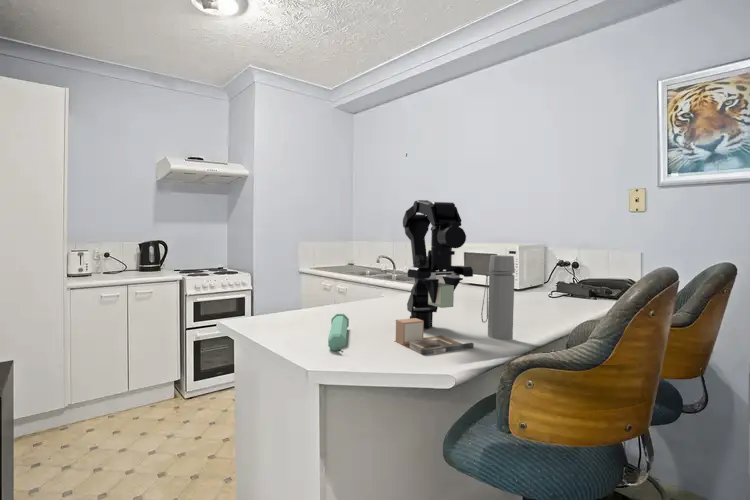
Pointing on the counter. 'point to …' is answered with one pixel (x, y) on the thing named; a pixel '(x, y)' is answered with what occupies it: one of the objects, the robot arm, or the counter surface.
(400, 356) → the counter surface
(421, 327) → the rust box
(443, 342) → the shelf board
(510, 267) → the water bottle
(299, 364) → the counter surface
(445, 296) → the tea box
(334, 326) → the container
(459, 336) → the counter surface
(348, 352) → the counter surface
